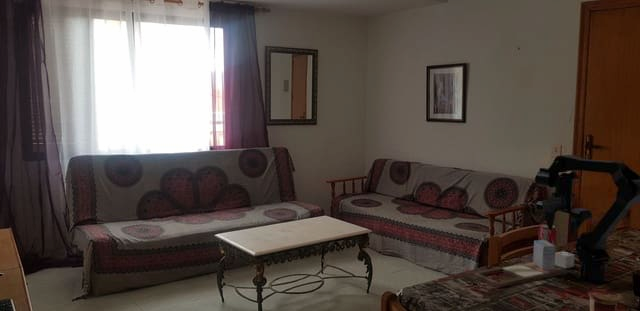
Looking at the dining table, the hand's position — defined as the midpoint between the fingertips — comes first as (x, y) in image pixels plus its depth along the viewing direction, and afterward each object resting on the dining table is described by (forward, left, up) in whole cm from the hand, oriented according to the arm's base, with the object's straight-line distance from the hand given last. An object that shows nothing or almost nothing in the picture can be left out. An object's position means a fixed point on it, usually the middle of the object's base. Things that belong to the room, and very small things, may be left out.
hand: (561, 232), depth 174 cm
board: (+1, +18, -13) cm, 23 cm away
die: (+1, -4, -13) cm, 14 cm away
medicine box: (+1, +7, -12) cm, 14 cm away
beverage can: (+12, -8, -13) cm, 20 cm away
